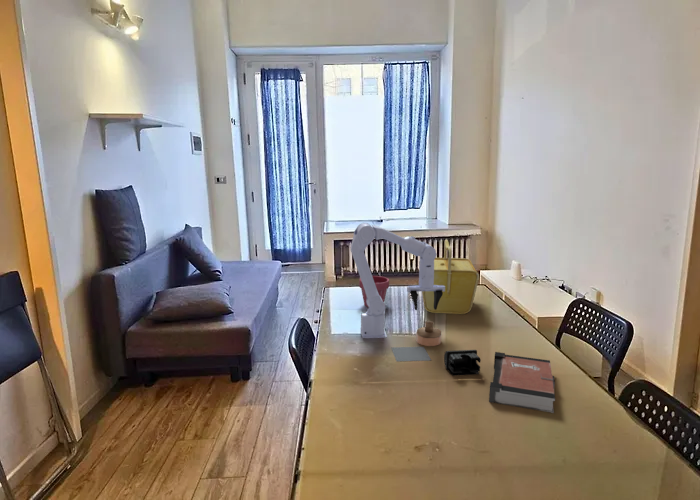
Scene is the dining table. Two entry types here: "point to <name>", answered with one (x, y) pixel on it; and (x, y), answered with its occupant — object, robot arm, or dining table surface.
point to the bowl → (428, 340)
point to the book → (522, 382)
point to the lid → (429, 331)
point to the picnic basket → (452, 284)
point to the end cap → (462, 362)
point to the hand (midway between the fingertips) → (425, 309)
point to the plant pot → (381, 286)
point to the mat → (410, 354)
